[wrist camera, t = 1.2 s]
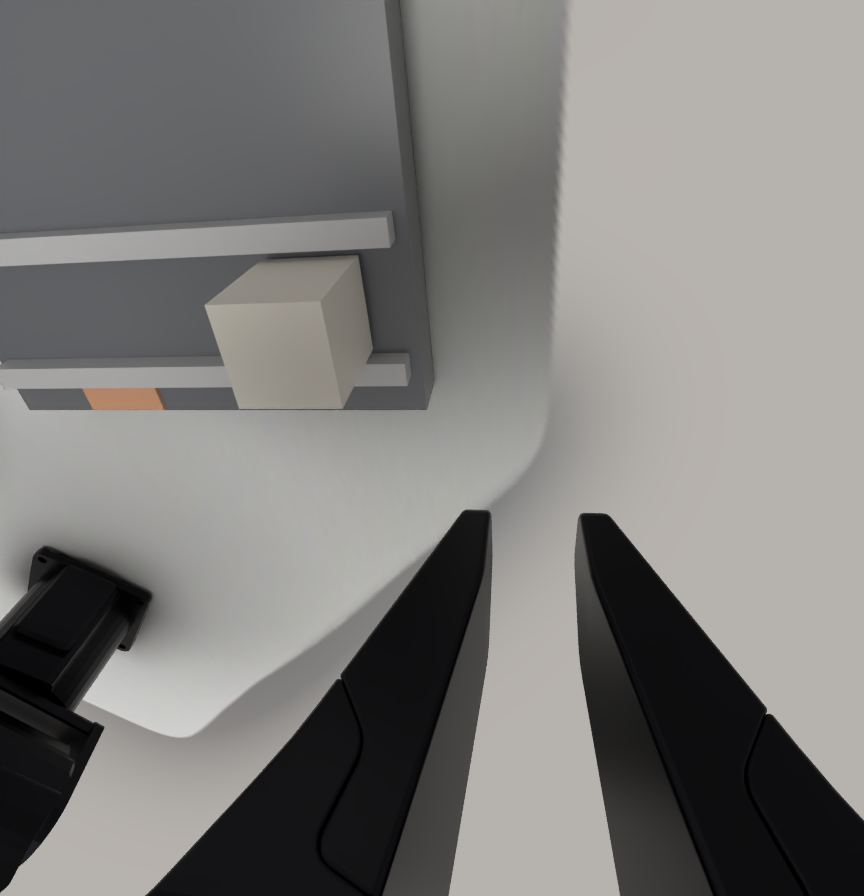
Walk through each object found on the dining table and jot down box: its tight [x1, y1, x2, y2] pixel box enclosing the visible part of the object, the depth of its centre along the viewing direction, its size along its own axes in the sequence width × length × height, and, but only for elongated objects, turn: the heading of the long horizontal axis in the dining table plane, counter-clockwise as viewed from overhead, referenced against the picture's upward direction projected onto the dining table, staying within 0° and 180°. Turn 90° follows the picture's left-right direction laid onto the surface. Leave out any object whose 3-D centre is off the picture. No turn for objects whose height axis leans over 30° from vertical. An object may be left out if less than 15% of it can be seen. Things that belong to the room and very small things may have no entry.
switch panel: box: [0, 0, 434, 410], centre depth 15 cm, size 20×16×3 cm
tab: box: [204, 255, 373, 409], centre depth 16 cm, size 3×3×4 cm
